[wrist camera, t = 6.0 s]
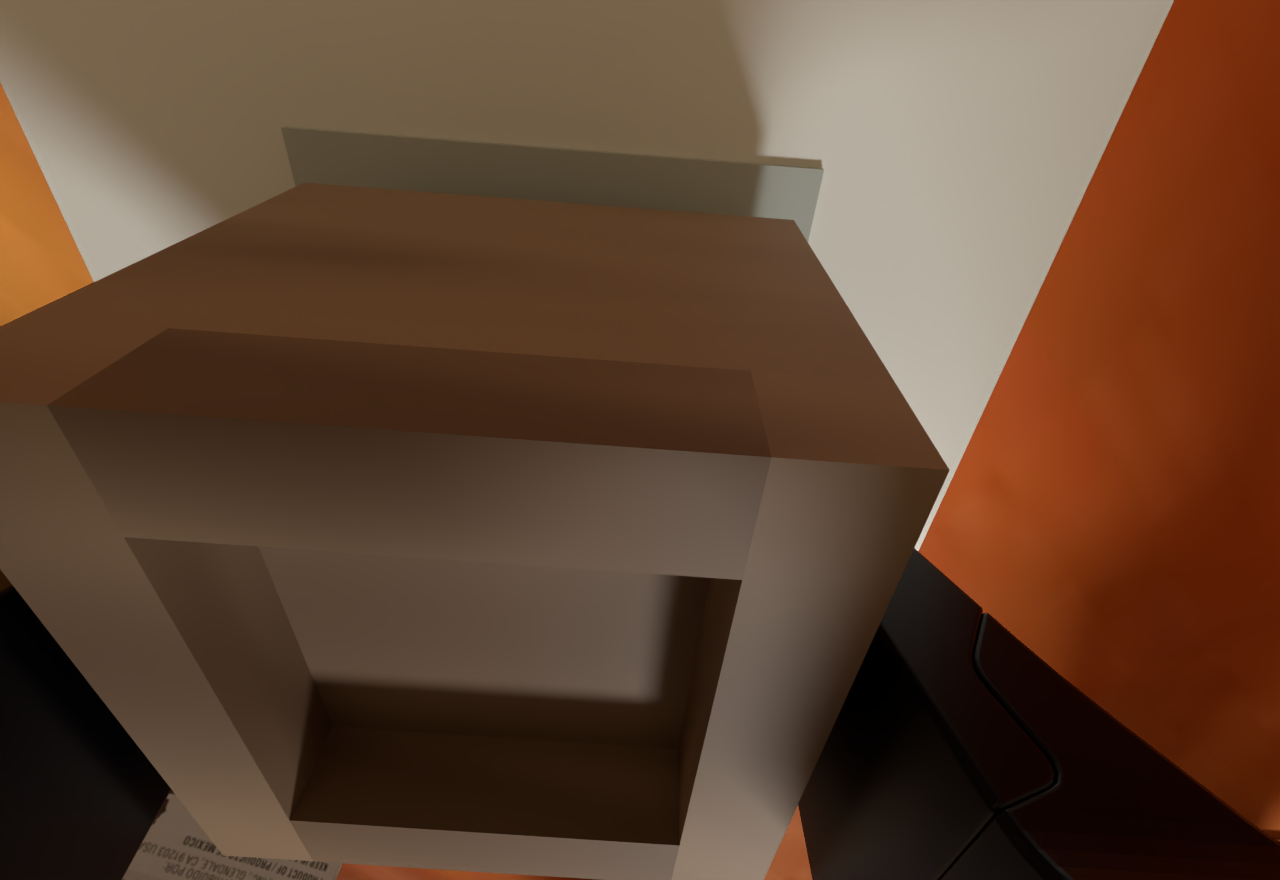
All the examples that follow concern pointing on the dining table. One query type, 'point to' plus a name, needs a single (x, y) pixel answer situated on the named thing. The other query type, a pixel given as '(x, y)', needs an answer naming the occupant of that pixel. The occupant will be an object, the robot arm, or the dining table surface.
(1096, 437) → the dining table surface
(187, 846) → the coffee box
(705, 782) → the cup brick
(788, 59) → the build plate
